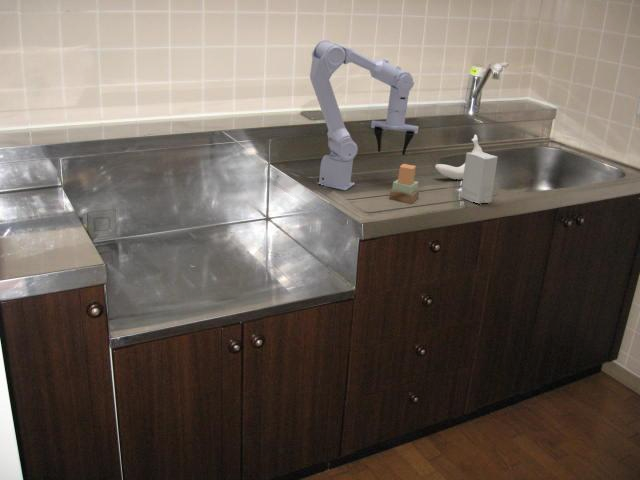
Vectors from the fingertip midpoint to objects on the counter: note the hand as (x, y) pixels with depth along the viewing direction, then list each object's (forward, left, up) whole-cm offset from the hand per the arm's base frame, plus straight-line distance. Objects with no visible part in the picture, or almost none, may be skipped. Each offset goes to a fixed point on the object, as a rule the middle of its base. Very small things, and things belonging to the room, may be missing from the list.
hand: (391, 152), depth 223 cm
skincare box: (+28, +3, -11) cm, 30 cm away
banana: (+18, +22, -11) cm, 30 cm away
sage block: (+9, -10, -8) cm, 16 cm away
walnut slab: (+9, -10, -11) cm, 18 cm away
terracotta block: (+9, -11, -5) cm, 15 cm away
